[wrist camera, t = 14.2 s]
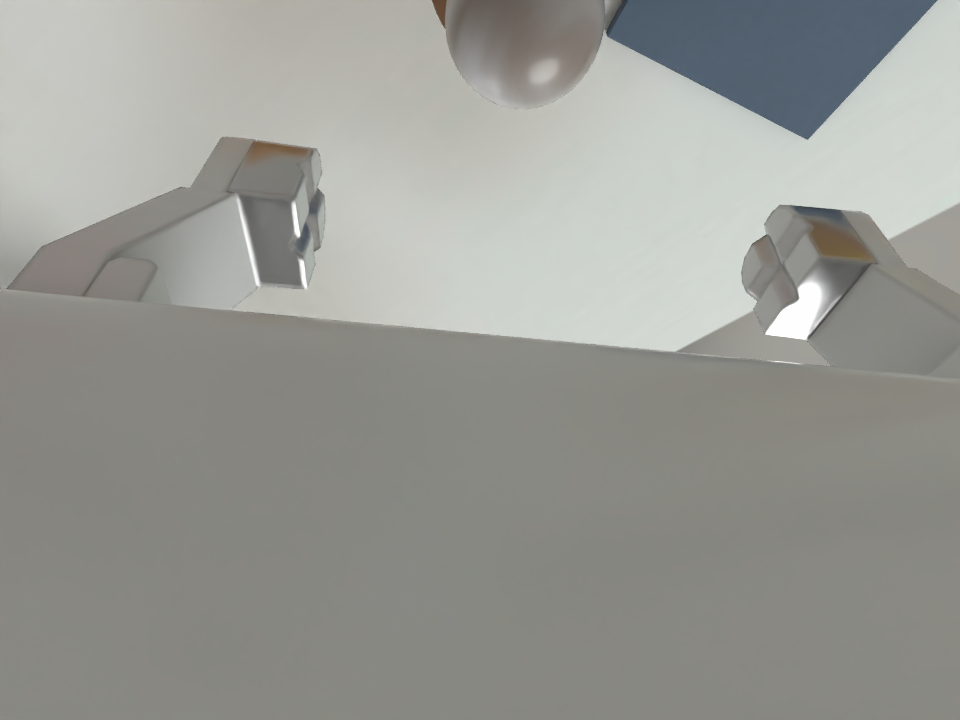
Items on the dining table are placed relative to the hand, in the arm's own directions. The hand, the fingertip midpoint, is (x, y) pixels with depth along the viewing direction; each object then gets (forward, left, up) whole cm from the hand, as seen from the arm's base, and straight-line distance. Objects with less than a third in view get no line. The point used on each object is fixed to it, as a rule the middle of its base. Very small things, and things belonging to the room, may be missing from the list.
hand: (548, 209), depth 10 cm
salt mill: (0, +5, -22) cm, 22 cm away
